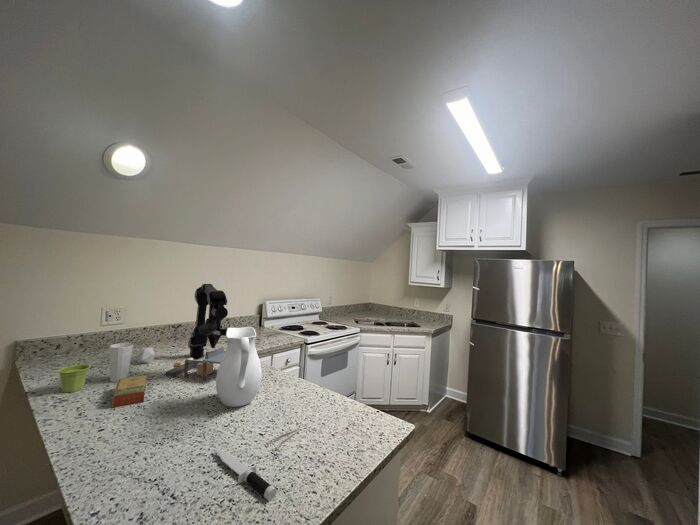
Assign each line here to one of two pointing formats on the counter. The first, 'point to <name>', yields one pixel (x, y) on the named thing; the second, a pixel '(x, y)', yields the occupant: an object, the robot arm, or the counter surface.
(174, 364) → the orange button
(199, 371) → the block
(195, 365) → the console
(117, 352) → the cup
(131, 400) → the carton
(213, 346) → the robot arm
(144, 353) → the die
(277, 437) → the tweezers
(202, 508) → the counter surface
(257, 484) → the knife
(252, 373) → the pitcher
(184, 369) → the frame
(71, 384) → the plant pot
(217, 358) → the lid
